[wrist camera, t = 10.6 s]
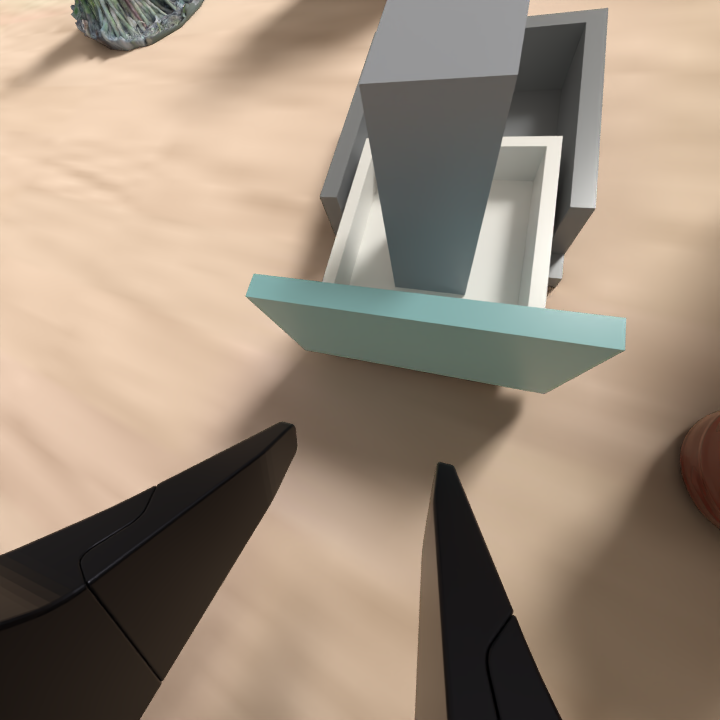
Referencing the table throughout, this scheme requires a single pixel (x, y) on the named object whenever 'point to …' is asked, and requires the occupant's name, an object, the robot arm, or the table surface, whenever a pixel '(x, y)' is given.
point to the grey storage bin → (527, 119)
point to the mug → (703, 466)
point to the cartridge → (439, 128)
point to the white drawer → (446, 310)
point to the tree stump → (131, 20)
